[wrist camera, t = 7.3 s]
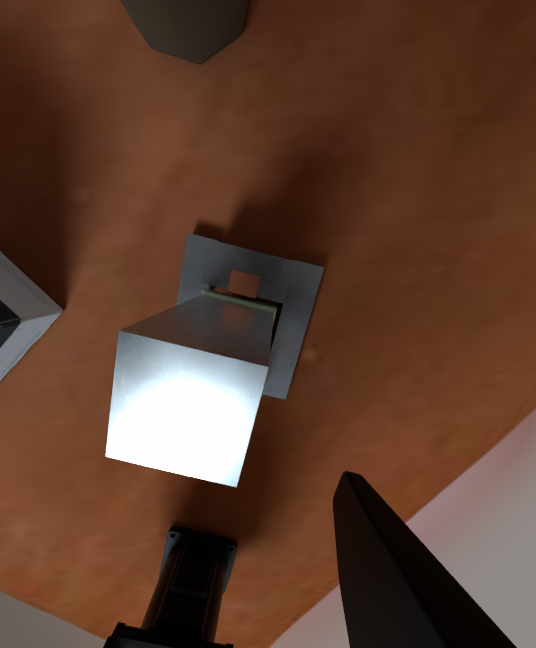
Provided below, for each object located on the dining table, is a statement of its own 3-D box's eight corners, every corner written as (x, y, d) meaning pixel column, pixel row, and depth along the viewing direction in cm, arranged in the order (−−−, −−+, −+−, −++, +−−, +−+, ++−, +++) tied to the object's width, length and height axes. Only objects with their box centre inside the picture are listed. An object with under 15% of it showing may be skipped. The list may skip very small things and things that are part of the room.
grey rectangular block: (260, 369, 16) (240, 492, 8) (195, 353, 16) (100, 459, 8) (277, 305, 15) (275, 363, 7) (207, 288, 15) (113, 323, 7)
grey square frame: (285, 393, 20) (286, 425, 16) (171, 365, 20) (144, 391, 16) (321, 267, 18) (334, 268, 14) (192, 234, 18) (167, 226, 14)
